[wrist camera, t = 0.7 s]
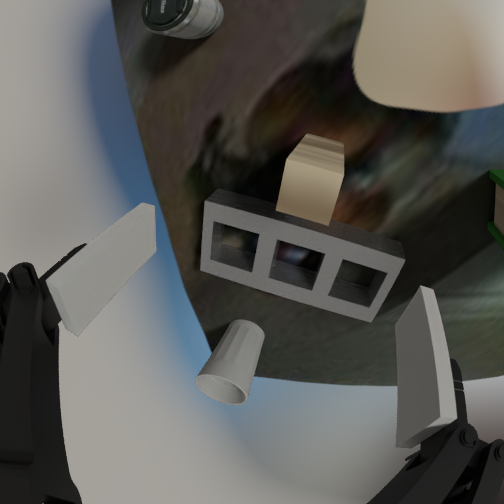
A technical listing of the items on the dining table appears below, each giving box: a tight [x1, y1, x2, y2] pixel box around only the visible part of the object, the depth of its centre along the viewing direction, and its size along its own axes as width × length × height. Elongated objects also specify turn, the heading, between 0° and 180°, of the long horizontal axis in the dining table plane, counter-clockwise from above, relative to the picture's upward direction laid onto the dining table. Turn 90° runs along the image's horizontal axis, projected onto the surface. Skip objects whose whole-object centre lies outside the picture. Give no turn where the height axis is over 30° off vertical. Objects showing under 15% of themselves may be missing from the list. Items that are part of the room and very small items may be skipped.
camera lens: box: [141, 0, 224, 39], centre depth 21 cm, size 6×6×8 cm
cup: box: [195, 320, 264, 405], centre depth 43 cm, size 8×8×12 cm
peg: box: [276, 133, 344, 226], centre depth 25 cm, size 4×4×12 cm
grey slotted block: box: [200, 189, 406, 322], centre depth 35 cm, size 10×23×4 cm, turn 81°
